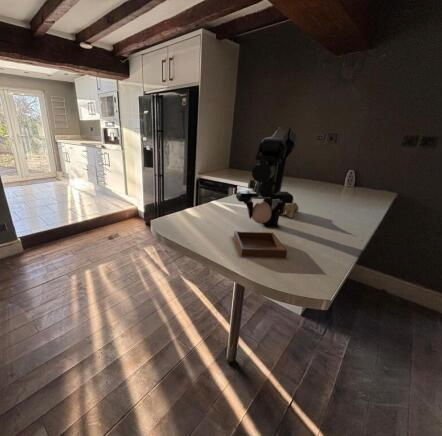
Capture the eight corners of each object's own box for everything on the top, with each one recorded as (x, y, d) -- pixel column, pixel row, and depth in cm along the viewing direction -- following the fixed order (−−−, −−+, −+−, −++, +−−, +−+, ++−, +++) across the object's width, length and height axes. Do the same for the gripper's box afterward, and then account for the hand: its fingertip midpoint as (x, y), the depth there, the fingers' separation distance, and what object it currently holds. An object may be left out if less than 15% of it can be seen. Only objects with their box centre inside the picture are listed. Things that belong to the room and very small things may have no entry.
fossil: (277, 206, 134) (293, 196, 128) (288, 220, 132) (304, 210, 126) (269, 209, 123) (286, 198, 117) (280, 224, 120) (298, 214, 115)
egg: (273, 225, 84) (278, 203, 81) (256, 227, 82) (260, 205, 79) (261, 218, 91) (265, 198, 87) (245, 219, 89) (248, 199, 86)
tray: (271, 239, 95) (272, 232, 94) (285, 258, 82) (287, 250, 80) (233, 237, 95) (234, 231, 94) (241, 256, 82) (242, 248, 81)
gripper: (285, 173, 87) (277, 212, 93) (235, 171, 88) (231, 210, 94) (298, 179, 77) (288, 222, 83) (241, 178, 77) (236, 221, 83)
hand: (260, 218), depth 86 cm, fingers closed on egg, 7 cm apart
